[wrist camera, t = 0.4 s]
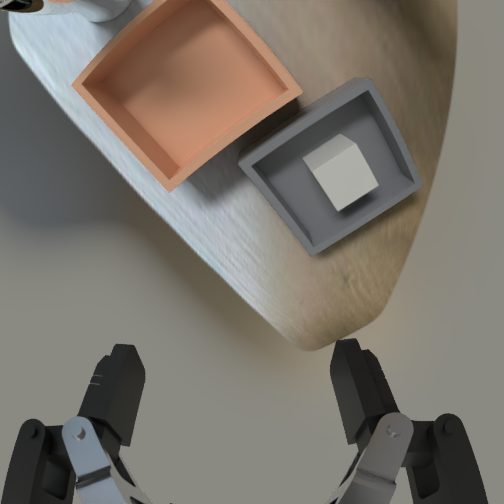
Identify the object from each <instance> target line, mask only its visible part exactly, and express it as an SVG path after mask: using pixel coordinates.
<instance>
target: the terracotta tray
mask: <svg viewBox="0 0 504 504" xmlns="http://www.w3.org/2000/svg"><path fill="white" fill-rule="evenodd" d="M71 86H72V87H73V88H74V89H75V90H76V91H77V92H78V94H79V95H80V96H81V97H82V98H83V99H84V100H85V101H86V103H87V104H88V105H89V106H90V107H91V108H92V109H93V110H94V112H95V113H96V114H97V115H98V116H99V117H100V118H101V119H102V120H103V121H104V123H105V124H106V125H107V126H108V127H109V128H110V129H111V130H112V131H113V133H114V134H115V135H116V136H117V137H118V138H119V139H120V140H121V141H122V142H123V143H124V145H125V146H126V147H127V148H128V149H129V150H130V151H131V152H132V153H133V154H134V155H135V157H136V158H137V159H138V160H139V161H140V162H141V163H142V164H143V165H144V166H145V167H146V168H147V169H148V171H149V172H150V173H151V174H152V175H153V176H154V177H155V178H156V179H157V180H158V181H159V182H160V183H161V184H162V186H163V187H164V188H165V189H166V190H167V191H168V192H171V191H172V190H173V189H174V188H175V187H176V186H178V185H179V184H180V183H181V182H182V181H183V180H185V179H186V178H187V177H188V176H189V175H191V174H192V173H193V172H194V171H196V170H197V169H198V168H199V167H200V166H202V165H203V164H204V163H205V162H207V161H208V160H209V159H210V158H212V157H213V156H214V155H216V154H217V153H218V152H219V151H221V150H222V149H223V148H225V147H226V146H227V145H229V144H230V143H231V142H233V141H234V140H235V139H237V138H238V137H239V136H241V135H242V134H243V133H245V132H246V131H247V130H249V129H250V128H252V127H253V126H254V125H256V124H257V123H259V122H260V121H261V120H263V119H264V118H266V117H267V116H269V115H270V114H272V113H273V112H275V111H276V110H277V109H279V108H280V107H282V106H283V105H285V104H286V103H288V102H289V101H291V100H293V99H294V98H296V97H297V96H299V95H300V94H302V93H303V91H302V90H301V88H300V87H299V85H298V84H297V83H296V81H295V80H294V79H293V78H292V76H291V75H290V74H289V72H288V71H287V70H286V69H285V67H284V66H283V65H282V64H281V62H280V61H279V60H278V59H277V57H276V56H275V55H274V54H273V52H272V51H271V50H270V49H269V48H268V47H267V45H266V44H265V43H264V42H263V41H262V40H261V38H260V37H259V36H258V35H257V34H256V33H255V32H254V31H253V29H252V28H251V27H250V26H249V25H248V24H247V23H246V22H245V21H244V20H243V19H242V18H241V17H240V15H239V14H238V13H237V12H236V11H235V10H234V9H233V8H232V7H231V6H230V5H229V4H228V3H227V2H226V1H225V0H155V1H153V2H152V3H151V4H150V5H149V6H147V7H146V8H145V9H144V10H143V11H141V12H140V13H139V14H138V15H137V16H136V17H135V18H133V19H132V20H131V21H130V22H129V23H128V24H127V25H126V26H125V27H124V28H123V29H122V30H121V31H119V32H118V33H117V34H116V35H115V36H114V37H113V38H112V39H111V40H110V41H109V42H108V43H107V45H106V46H105V47H104V48H103V49H102V50H101V51H100V52H99V53H98V54H97V55H96V56H95V57H94V59H93V60H92V61H91V62H90V63H89V64H88V65H87V67H86V68H85V69H84V70H83V71H82V73H81V74H80V75H79V76H78V77H77V79H76V80H75V81H74V82H73V84H72V85H71Z"/></svg>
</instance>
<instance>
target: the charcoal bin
mask: <svg viewBox="0 0 504 504" xmlns="http://www.w3.org/2000/svg"><path fill="white" fill-rule="evenodd" d="M338 134H342V135H343V136H345V137H347V138H348V139H350V140H351V141H353V142H355V143H356V144H357V146H358V148H359V150H360V151H361V153H362V155H363V157H364V158H365V160H366V162H367V164H368V166H369V168H370V169H371V171H372V173H373V175H374V177H375V179H376V181H377V183H378V186H377V187H375V188H374V189H372V190H371V191H369V192H368V193H366V194H364V195H363V196H361V197H360V198H358V199H357V200H355V201H354V202H352V203H350V204H349V205H347V206H346V207H344V208H343V209H341V210H339V211H337V210H336V208H335V206H334V205H333V203H332V202H331V200H330V199H329V197H328V196H327V194H326V192H325V191H324V189H323V188H322V186H321V185H320V183H319V182H318V180H317V179H316V177H315V176H314V174H313V173H312V172H311V170H310V169H309V167H308V166H307V164H306V163H305V161H304V160H303V157H304V156H306V155H307V154H309V153H310V152H312V151H313V150H315V149H316V148H318V147H320V146H321V145H323V144H324V143H326V142H327V141H329V140H330V139H332V138H333V137H335V136H337V135H338ZM238 165H239V166H240V168H241V169H242V170H243V171H244V172H245V174H246V175H247V176H248V177H249V178H250V180H251V181H252V182H253V183H254V185H255V186H256V187H257V188H258V190H259V191H260V192H261V193H262V194H263V196H264V197H265V198H266V199H267V201H268V202H269V203H270V204H271V206H272V207H273V208H274V209H275V211H276V212H277V213H278V214H279V216H280V217H281V218H282V220H283V221H284V222H285V223H286V225H287V226H288V227H289V228H290V230H291V231H292V232H293V234H294V235H295V236H296V238H297V239H298V240H299V241H300V243H301V244H302V245H303V247H304V248H305V249H306V251H307V252H308V253H309V254H310V256H311V257H312V256H314V255H316V254H317V253H319V252H320V251H322V250H324V249H325V248H327V247H329V246H330V245H332V244H333V243H335V242H337V241H338V240H340V239H342V238H343V237H345V236H346V235H348V234H350V233H351V232H353V231H354V230H356V229H358V228H359V227H361V226H362V225H364V224H365V223H367V222H369V221H370V220H372V219H373V218H375V217H376V216H378V215H380V214H381V213H383V212H384V211H386V210H387V209H389V208H390V207H392V206H393V205H395V204H397V203H398V202H400V201H401V200H403V199H404V198H406V197H407V196H409V195H410V194H412V193H413V192H415V191H416V190H418V189H419V188H421V187H422V186H423V184H422V181H421V178H420V176H419V173H418V171H417V169H416V166H415V164H414V161H413V159H412V157H411V154H410V152H409V150H408V148H407V146H406V143H405V141H404V139H403V137H402V135H401V133H400V131H399V129H398V127H397V125H396V123H395V121H394V119H393V117H392V115H391V113H390V111H389V109H388V107H387V105H386V104H385V102H384V100H383V98H382V96H381V95H380V93H379V91H378V90H377V88H376V86H375V84H374V83H373V81H372V79H371V78H354V79H352V80H350V81H348V82H347V83H345V84H343V85H342V86H340V87H338V88H336V89H335V90H333V91H332V92H330V93H328V94H327V95H325V96H323V97H322V98H320V99H318V100H317V101H315V102H314V103H312V104H311V105H309V106H307V107H306V108H304V109H303V110H301V111H300V112H298V113H297V114H295V115H294V116H292V117H291V118H289V119H288V120H286V121H285V122H283V123H282V124H280V125H279V126H277V127H276V128H274V129H273V130H271V131H270V132H268V133H267V134H266V135H264V136H263V137H261V138H260V139H259V140H257V141H256V142H254V143H253V144H252V145H250V146H249V147H247V148H246V149H245V150H243V151H242V152H241V153H239V159H238Z"/></svg>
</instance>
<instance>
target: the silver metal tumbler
mask: <svg viewBox="0 0 504 504" xmlns="http://www.w3.org/2000/svg"><path fill="white" fill-rule="evenodd" d="M131 1H132V0H0V10H5V11H9V12H14V13H21V14H28V15H60V14H80V15H82V16H83V17H84V18H86V19H87V20H89V21H92V22H96V23H101V22H106V21H109V20H112V19H114V18H116V17H117V16H119V15H120V14H121V13H122V12H123V11H124V10H125V9H126V8H127V7H128V6H129V4H130V3H131Z"/></svg>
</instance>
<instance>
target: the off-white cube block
mask: <svg viewBox="0 0 504 504" xmlns="http://www.w3.org/2000/svg"><path fill="white" fill-rule="evenodd" d="M303 160H304V161H305V163H306V164H307V166H308V167H309V169H310V170H311V172H312V173H313V174H314V176H315V177H316V179H317V180H318V182H319V183H320V185H321V186H322V188H323V189H324V191H325V192H326V194H327V196H328V197H329V199H330V200H331V202H332V203H333V205H334V206H335V208H336V210H337V211H339V210H341V209H343V208H344V207H346V206H347V205H349V204H350V203H352V202H354V201H355V200H357V199H358V198H360V197H361V196H363V195H364V194H366V193H368V192H369V191H371V190H372V189H374V188H375V187H377V186H378V183H377V181H376V179H375V177H374V175H373V173H372V171H371V169H370V168H369V166H368V164H367V162H366V160H365V158H364V157H363V155H362V153H361V151H360V150H359V148H358V146H357V144H356V143H355V142H353V141H351V140H350V139H348V138H347V137H345V136H343V135H342V134H338V135H337V136H335V137H333V138H332V139H330V140H329V141H327V142H326V143H324V144H323V145H321V146H320V147H318V148H316V149H315V150H313V151H312V152H310V153H309V154H307V155H306V156H304V157H303Z"/></svg>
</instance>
